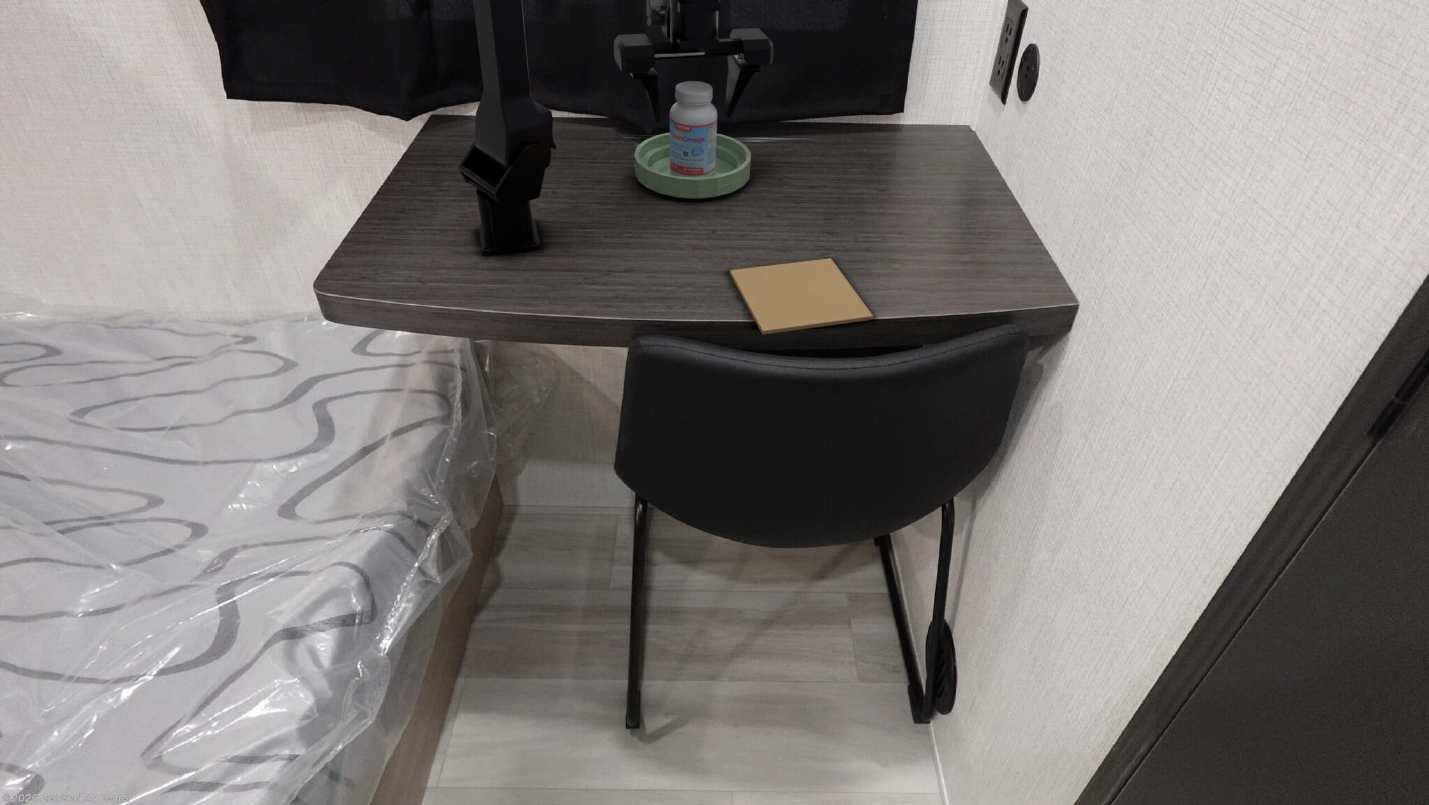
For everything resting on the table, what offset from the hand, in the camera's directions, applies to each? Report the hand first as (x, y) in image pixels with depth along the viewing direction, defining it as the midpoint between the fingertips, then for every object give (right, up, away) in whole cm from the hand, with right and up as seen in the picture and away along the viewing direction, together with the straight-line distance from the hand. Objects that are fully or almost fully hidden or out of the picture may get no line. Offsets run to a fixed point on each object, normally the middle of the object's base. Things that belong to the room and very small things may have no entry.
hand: (692, 119), depth 107 cm
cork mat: (+12, -25, -17) cm, 32 cm away
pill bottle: (0, -6, +5) cm, 7 cm away
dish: (0, -6, +5) cm, 8 cm away
